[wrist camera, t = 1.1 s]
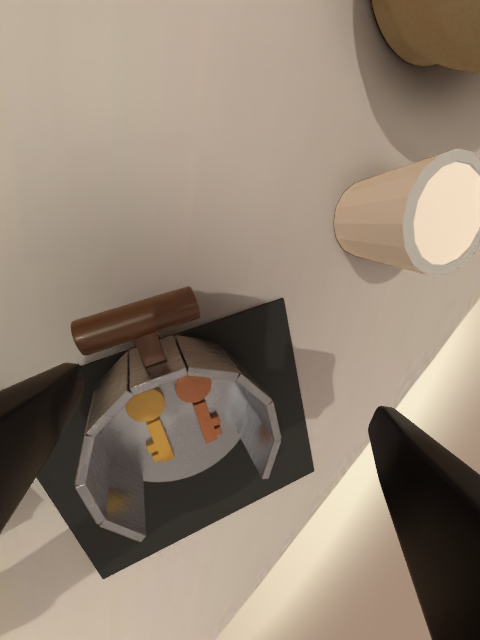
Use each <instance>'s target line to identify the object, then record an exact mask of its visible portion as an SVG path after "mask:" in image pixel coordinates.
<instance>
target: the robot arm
mask: <svg viewBox="0 0 480 640" xmlns="http://www.w3.org/2000/svg"><path fill="white" fill-rule="evenodd" d="M83 389H84V384H83V375H82V368H81V366H80V365H79V364H74V363H63V364H61V365H59V366H56V367H54V368H52V369H49V370H47V371H45V372H43V373H40V374H38V375H36V376H33V377H31V378H29V379H26V380H24V381H22V382H20V383H17V384H15V385H13V386H10V387H8V388H6V389H4V390H1V391H0V533H1V531H2V530H3V528H4V527H5V525H6V523H7V522H8V520H9V519H10V517H11V516H12V514H13V512H14V511H15V509H16V508H17V506H18V505H19V503H20V501H21V500H22V498H23V497H24V495H25V494H26V492H27V490H28V489H29V487H30V486H31V484H32V483H33V481H34V479H35V478H36V476H37V475H38V473H39V472H40V470H41V468H42V467H43V465H44V464H45V462H46V461H47V459H48V457H49V456H50V454H51V453H52V451H53V450H54V448H55V446H56V445H57V443H58V441H59V439H60V438H61V436H62V434H63V432H64V430H65V428H66V426H67V424H68V422H69V420H70V418H71V416H72V414H73V412H74V410H75V408H76V406H77V404H78V402H79V399H80V397H81V395H82V393H83ZM368 433H369V437H370V442H371V446H372V451H373V455H374V460H375V464H376V469H377V473H378V477H379V481H380V484H381V487H382V491H383V494H384V497H385V500H386V503H387V506H388V509H389V512H390V515H391V518H392V521H393V524H394V527H395V530H396V533H397V536H398V539H399V542H400V545H401V548H402V551H403V554H404V557H405V560H406V563H407V566H408V569H409V572H410V575H411V578H412V581H413V584H414V587H415V590H416V593H417V596H418V599H419V602H420V605H421V608H422V611H423V614H424V617H425V620H426V623H427V626H428V629H429V632H430V635H431V638H432V640H480V475H479V474H478V473H477V472H476V471H474V470H473V469H472V468H470V467H469V466H468V465H467V464H465V463H464V462H463V461H461V460H460V459H459V458H457V457H456V456H455V455H454V454H452V453H451V452H450V451H448V450H447V449H446V448H444V447H443V446H442V445H441V444H439V443H438V442H437V441H436V440H434V439H433V438H432V437H430V436H429V435H428V434H426V433H425V432H424V431H423V430H421V429H420V428H419V427H417V426H416V425H415V424H414V423H412V422H411V421H410V420H408V419H407V418H406V417H405V416H403V415H402V414H400V413H399V412H398V411H397V410H395V409H394V408H392V407H385V406H379V407H378V408H377V409H376V411H375V413H374V415H373V418H372V420H371V422H370V424H369V428H368Z"/></svg>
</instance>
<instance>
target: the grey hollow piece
mask: <svg viewBox="0 0 480 640" xmlns="http://www.w3.org/2000/svg"><path fill="white" fill-rule="evenodd" d="M199 317H200V311H199V307H198V304H197V301H196V298H195V295H194V293H193V291H192V289H191V287H190V286H187V287H184V288H181V289H177V290H174V291H171V292H167V293H164V294H161V295H157V296H154V297H151V298H148V299H144V300H141V301H138V302H134V303H131V304H128V305H124V306H121V307H118V308H114V309H111V310H108V311H105V312H101V313H98V314H95V315H91V316H88V317H85V318H81V319H78V320H75V321H73V322H72V323H71V332H72V336H73V339H74V342H75V344H76V346H77V348H78V349H79V351H80V352H81V353H82V354H83V355H89V354H92V353H95V352H98V351H101V350H104V349H107V348H110V347H113V346H116V345H119V344H122V343H125V342H128V341H131V340H134V343H135V345H136V348H133V349H130V353H129V352H128V351H127V352H126V353H125V354H124V355H123V356H122V357H121V358H120V359H119V360H118V361H117V362H116V363H115V364H114V365H113V367H112V368H111V369H110V370H109V371H108V372H107V373H106V374H105V375H104V376H103V377H102V378H101V379H100V380H99V381H98V382H97V383H96V386H95V387H94V392H93V396H92V401H91V406H90V410H89V415H88V419H87V424H86V428H85V433H84V438H83V443H82V448H81V453H80V458H79V463H78V469H77V474H76V479H75V485H76V486H75V488H76V490H77V492H78V494H79V495H80V497H81V499H82V500H83V502H84V504H85V505H86V507H87V509H88V510H89V512H90V514H91V515H92V517H93V519H94V520H95V522H96V524H99V526H100V527H102V528H105V529H107V530H110V531H112V532H115V533H118V534H120V535H123V536H125V537H128V538H131V539H133V540H136V541H139V542H141V541H142V540H143V539H144V538H145V537H146V521H145V502H144V484H143V481H146V482H170V481H176V480H181V479H184V478H187V477H191V476H193V475H196V474H198V473H200V472H202V471H204V470H206V469H208V468H209V467H211V466H213V465H214V464H216V463H217V462H218V461H220V460H221V459H222V458H223V457H224V456H225V455H226V454H228V453H229V452H230V451H231V449H232V448H233V447H234V446H235V445H236V444H237V442H238V441H239V439H240V438H241V440H242V442H243V444H244V446H245V448H246V449H247V451H248V453H249V455H250V457H251V459H252V461H253V463H254V465H255V467H256V468H257V470H258V472H259V474H260V476H261V478H262V479H268V478H269V476H270V473H271V470H272V467H273V464H274V461H275V458H276V455H277V452H278V449H279V446H280V443H281V440H280V439H281V434H280V429H279V425H278V420H277V416H276V411H275V406H274V402H273V401H272V399H271V398H270V397H269V395H268V394H267V393H266V392H265V391H264V389H263V388H262V387H261V386H260V385H259V383H258V382H257V381H256V380H255V378H254V377H253V376H252V375H251V374H250V372H249V371H248V370H247V369H246V368H245V366H244V365H243V364H242V363H241V362H240V361H238V360H237V359H236V358H235V357H234V356H233V355H232V354H230V353H229V352H228V351H227V350H226V349H225V348H223V347H222V346H221V345H220V344H219V343H216V342H215V341H211V340H204V339H198V338H192V337H186V336H179V335H175V337H173V335H171V336H168V337H165V338H163V339H159V336H158V334H157V332H158V331H161V330H164V329H167V328H170V327H173V326H176V325H179V324H182V323H185V322H188V321H191V320H194V319H197V318H199ZM185 376H195V377H205V378H210V379H211V390H210V392H209V394H208V395H207V396H206V397H205V398H204V399H205V401H206V403H207V407H208V410H209V413H210V416H212V415H214V414H218V415H219V418H220V421H221V424H220V427H221V429H222V434H220V435H217V438H218V439H216V440H214V441H212V442H210V443H207V444H206V442H205V439H204V436H203V433H202V430H201V428H200V425H199V422H198V419H197V416H196V413H195V410H194V407H193V403H187V402H184V401H182V400H181V399H180V398H179V397H178V396H177V394H176V390H175V382H176V380H177V379H180V378H183V377H185ZM153 388H158V389H159V390H160V391H161V392H162V393H163V395H164V398H165V408H164V410H163V412H162V413H161V414H160V415H159V416H158V417H160V420H161V422H162V425H163V427H164V430H165V432H166V435H167V437H168V440H169V442H170V445H171V447H172V450H173V452H174V455H175V458H173V459H171V460H169V461H167V462H164V463H162V461H161V460H160V461H158V462H156V463H155V462H154V460H153V458H152V453H151V454H149V453H148V450H147V448H146V443H147V442H150V441H152V437H151V435H150V433H149V430H148V428H147V426H146V422H139V421H135V420H133V419H132V418H131V417H130V416H129V415H128V414H127V411H126V404H127V403H128V402H129V400H130V399H131V398H132V397H133V396H135V395H137V394H140V393H143V392H145V391H148V390H151V389H153Z"/></svg>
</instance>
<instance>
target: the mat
mask: <svg viewBox="0 0 480 640" xmlns="http://www.w3.org/2000/svg"><path fill="white" fill-rule="evenodd" d="M175 335H179V336H186V337H192V338H198V339H204V340H211V341H215V342H216V343H219V344H220V345H221V346H222V347H223V348H225V349H226V350H227V351H228V352H229V353H230V354H232V355H233V356H234V357H235V358H236V359H237V360H238V361H240V362H241V363H242V364H243V365H244V366H245V368H246V369H247V370H248V371H249V372H250V374H251V375H252V376H253V377H254V378H255V380H256V381H257V382H258V383H259V385H260V386H261V387H262V388H263V389H264V391H265V392H266V393H267V394H268V395H269V397H270V398H271V399H272V401H273V402H274V406H275V411H276V416H277V420H278V425H279V429H280V434H281V439H280V440H281V443H280V446H279V449H278V452H277V455H276V458H275V461H274V464H273V467H272V470H271V473H270V476H269V478H268V479H262V478H261V476H260V474H259V472H258V470H257V468H256V467H255V465H254V463H253V461H252V459H251V457H250V455H249V453H248V451H247V449H246V448H245V446H244V444H243V442H242V440H241V438H240V439H239V441H238V442H237V444H236V445H235V446H234V447H233V448H232V449H231V451H230V452H229V453H228V454H226V455H225V456H224V457H223V458H222V459H221V460H220V461H218V462H217V463H216V464H214V465H213V466H211V467H209V468H208V469H206V470H204V471H202V472H200V473H198V474H196V475H193V476H191V477H187V478H184V479H181V480H176V481H170V482H146V481H143V484H144V502H145V521H146V537H145V538H144V539H143V540H142V541H141V542H139V541H136V540H133V539H131V538H128V537H125V536H123V535H120V534H118V533H115V532H112V531H110V530H107V529H105V528H102V527H100V526H99V524H96V522H95V520H94V519H93V517H92V515H91V514H90V512H89V510H88V509H87V507H86V505H85V504H84V502H83V500H82V499H81V497H80V495H79V494H78V492H77V490H76V488H75V486H76V485H75V479H76V474H77V469H78V463H79V458H80V453H81V448H82V443H83V438H84V433H85V428H86V424H87V419H88V415H89V410H90V406H91V401H92V396H93V392H94V387H95V386H96V383H97V382H98V381H99V380H100V379H101V378H102V377H103V376H104V375H105V374H106V373H107V372H108V371H109V370H110V369H111V368H112V367H113V365H114V364H115V363H116V362H117V361H118V360H119V359H120V358H121V357H122V356H123V355H124V354H125V353H126V352H127V351H128V352H129V353H130V350H127V351H124V352H122V353H119V354H116V355H113V356H110V357H107V358H104V359H101V360H98V361H95V362H92V363H89V364H86V365H83V366H81V368H82V375H83V384H84V389H83V393H82V395H81V397H80V399H79V402H78V404H77V406H76V408H75V410H74V412H73V414H72V416H71V418H70V420H69V422H68V424H67V426H66V428H65V430H64V432H63V434H62V436H61V438H60V439H59V441H58V443H57V445H56V446H55V448H54V450H53V451H52V453H51V454H50V456H49V457H48V459H47V461H46V462H45V464H44V465H43V467H42V468H41V470H40V472H39V473H38V475H37V476H36V477H37V479H38V480H39V482H40V483H41V485H42V486H43V488H44V489H45V491H46V493H47V494H48V496H49V497H50V499H51V500H52V502H53V503H54V505H55V506H56V508H57V509H58V511H59V512H60V514H61V516H62V517H63V519H64V520H65V522H66V523H67V525H68V526H69V528H70V529H71V531H72V532H73V534H74V536H75V537H76V539H77V540H78V542H79V543H80V545H81V546H82V548H83V549H84V551H85V552H86V554H87V556H88V557H89V559H90V560H91V562H92V563H93V565H94V566H95V568H96V569H97V571H98V572H99V574H100V575H101V577H102V579H105V578H107V577H109V576H111V575H113V574H115V573H117V572H118V571H120V570H122V569H124V568H126V567H128V566H130V565H132V564H134V563H136V562H138V561H140V560H142V559H144V558H146V557H148V556H150V555H152V554H154V553H156V552H158V551H159V550H161V549H163V548H165V547H167V546H169V545H171V544H173V543H175V542H177V541H179V540H181V539H183V538H185V537H187V536H189V535H191V534H193V533H195V532H197V531H198V530H200V529H202V528H204V527H206V526H208V525H210V524H212V523H214V522H216V521H218V520H220V519H222V518H224V517H226V516H228V515H230V514H232V513H234V512H236V511H238V510H239V509H241V508H243V507H245V506H247V505H249V504H251V503H253V502H255V501H257V500H259V499H261V498H263V497H265V496H267V495H269V494H271V493H273V492H275V491H277V490H279V489H280V488H282V487H284V486H286V485H288V484H290V483H292V482H294V481H296V480H298V479H300V478H302V477H304V476H306V475H308V474H310V473H312V472H314V467H313V461H312V456H311V450H310V444H309V439H308V433H307V427H306V422H305V416H304V410H303V405H302V399H301V393H300V388H299V382H298V377H297V371H296V365H295V360H294V354H293V348H292V343H291V337H290V331H289V326H288V320H287V314H286V309H285V303H284V299H283V298H281V299H278V300H275V301H272V302H269V303H266V304H263V305H260V306H257V307H254V308H251V309H248V310H245V311H242V312H239V313H237V314H234V315H231V316H228V317H225V318H222V319H219V320H216V321H213V322H210V323H207V324H204V325H201V326H198V327H195V328H192V329H189V330H186V331H183V332H181V333H178V334H175ZM175 335H173V337H175Z"/></svg>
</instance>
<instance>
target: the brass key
mask: <svg viewBox="0 0 480 640" xmlns="http://www.w3.org/2000/svg"><path fill="white" fill-rule="evenodd" d="M164 408H165V398H164V395H163V393H162V392H161V391H160V390H159V389H158V388H153V389H151V390H148V391H145V392H143V393H140V394H137V395H135V396H133V397H132V398H131V399H130V400H129V402H128V403H127V404H126V411H127V414H128V415H129V416H130V417H131V418H132V419H133V420H135V421H139V422H146V426H147V428H148V430H149V433H150V435H151V437H152V441H150V442H147V443H146V448H147V450H148V453H149V454H151V453H152V458H153V460H154V462H155V463H156V462H158V461H160V460H161V461H162V463H164V462H167V461H169V460H171V459H173V458H175V455H174V452H173V450H172V447H171V445H170V442H169V440H168V437H167V435H166V432H165V430H164V427H163V425H162V422H161V420H160V417H158V416H159V415H160V414H161V413H162V412H163V410H164Z"/></svg>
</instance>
